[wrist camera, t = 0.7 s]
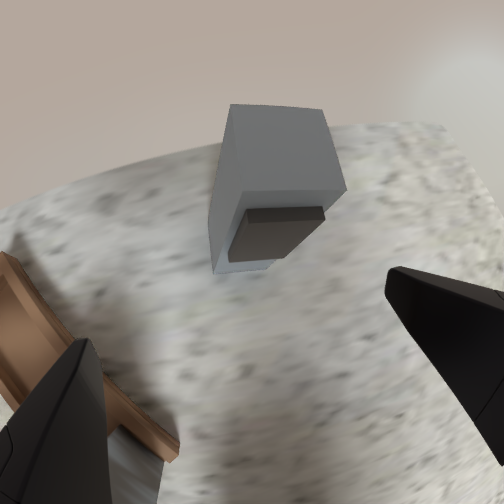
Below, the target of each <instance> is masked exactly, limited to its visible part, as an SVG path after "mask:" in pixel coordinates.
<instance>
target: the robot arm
mask: <svg viewBox="0 0 504 504" xmlns="http://www.w3.org/2000/svg"><path fill="white" fill-rule="evenodd" d="M385 297H386V299H387V300H388V302H389V303H390V305H391V306H392V308H393V309H394V311H395V312H396V314H397V316H398V317H399V319H400V320H401V322H402V323H403V325H404V326H405V328H406V330H407V331H408V332H409V334H410V335H411V336H412V338H413V339H414V340H415V342H416V343H417V344H418V346H419V347H420V348H421V350H422V351H423V352H424V354H425V355H426V356H427V358H428V359H429V360H430V362H431V363H432V364H433V366H434V367H435V368H436V370H437V371H438V372H439V374H440V375H441V377H442V378H443V379H444V381H445V382H446V383H447V385H448V386H449V388H450V389H451V390H452V392H453V393H454V395H455V396H456V398H457V399H458V400H459V402H460V403H461V405H462V406H463V408H464V409H465V411H466V412H467V414H468V415H469V417H470V418H471V420H472V421H473V422H474V425H475V426H476V428H477V429H478V431H479V432H480V434H481V435H482V437H483V438H484V440H485V442H486V443H487V445H488V446H489V448H490V450H491V451H492V453H493V454H494V456H495V458H496V459H497V461H498V463H499V464H500V465H501V466H503V465H504V292H502V291H498V290H493V289H490V288H486V287H482V286H479V285H475V284H471V283H467V282H463V281H459V280H455V279H451V278H447V277H443V276H439V275H435V274H431V273H427V272H423V271H419V270H414V269H410V268H406V267H402V266H398V267H394V268H391V269H390V270H389V271H388V273H387V279H386V285H385ZM0 504H113V503H112V494H111V485H110V473H109V459H108V439H107V414H106V405H105V396H104V386H103V375H102V366H101V362H100V359H99V357H98V355H97V353H96V351H95V349H94V347H93V344H92V342H91V341H90V339H88V338H81V339H76V340H74V341H73V342H72V343H71V344H70V346H69V347H68V348H67V349H66V350H65V351H64V352H63V354H62V355H61V356H60V357H59V358H58V359H57V361H56V362H55V363H54V364H53V365H52V367H51V368H50V369H49V370H48V371H47V373H46V374H45V375H44V376H43V378H42V379H41V380H40V381H39V382H38V384H37V385H36V386H35V387H34V389H33V390H32V391H31V392H30V394H29V395H28V396H27V397H26V399H25V400H24V401H23V403H22V404H21V405H20V406H19V408H18V409H17V410H16V412H15V413H14V414H13V416H12V417H11V418H10V419H9V421H8V422H7V425H5V426H4V427H3V429H2V430H1V432H0Z"/></svg>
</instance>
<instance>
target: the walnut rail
mask: <svg viewBox="0 0 504 504" xmlns="http://www.w3.org/2000/svg"><path fill="white" fill-rule="evenodd" d="M74 340H75V339H74V338H73V337H72V336H71V335H70V333H69V332H68V331H67V330H66V328H65V327H64V326H63V325H62V323H61V322H60V321H59V319H58V318H57V317H56V315H55V314H54V313H53V311H52V310H51V309H50V307H49V306H48V305H47V303H46V302H45V301H44V299H43V298H42V296H41V295H40V294H39V292H38V291H37V289H36V288H35V286H34V285H33V283H32V282H31V280H30V279H29V277H28V276H27V274H26V273H25V271H24V270H23V268H22V266H21V265H20V263H19V262H18V260H17V259H16V258H14V257H12V256H10V255H8V254H6V253H4V252H3V251H1V252H0V394H1V395H2V397H3V398H4V399H5V401H6V402H7V403H8V405H9V406H10V407H11V409H12V410H13V411H14V413H15V412H16V410H17V409H18V408H19V406H20V405H21V404H22V403H23V401H24V400H25V399H26V397H27V396H28V395H29V394H30V392H31V391H32V390H33V389H34V387H35V386H36V385H37V384H38V382H39V381H40V380H41V379H42V378H43V376H44V375H45V374H46V373H47V371H48V370H49V369H50V368H51V367H52V365H53V364H54V363H55V362H56V361H57V359H58V358H59V357H60V356H61V355H62V354H63V352H64V351H65V350H66V349H67V348H68V347H69V346H70V344H71V343H72V342H73V341H74ZM102 375H103V386H104V396H105V405H106V414H107V439H108V459H109V473H110V485H111V494H112V503H113V504H156V503H157V498H158V492H159V487H160V481H161V476H162V471H163V466H164V462H165V461H167V462H169V463H171V462H172V461H173V460H174V459H175V458H176V457H177V456H178V455H179V448H180V443H179V442H178V441H177V440H176V439H174V438H173V437H172V436H171V435H169V434H168V433H167V432H166V431H165V430H164V429H162V428H161V427H160V426H159V425H158V424H157V423H155V422H154V421H153V420H152V419H151V418H150V417H149V416H148V415H146V414H145V413H144V412H143V411H142V410H141V409H140V408H139V407H138V406H137V405H136V404H135V403H133V402H132V401H131V400H130V399H129V398H128V397H127V396H126V395H125V394H124V393H123V392H122V391H121V390H120V389H119V388H118V387H117V386H116V385H115V384H114V383H113V382H112V381H111V380H110V379H109V378H108V377H107V376H106V374H105V373H104V372H103V371H102Z"/></svg>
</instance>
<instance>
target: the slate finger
mask: <svg viewBox="0 0 504 504" xmlns="http://www.w3.org/2000/svg"><path fill="white" fill-rule="evenodd" d="M346 191H347V188H346V185H345V181H344V178H343V174H342V171H341V167H340V164H339V160H338V157H337V154H336V150H335V147H334V144H333V141H332V138H331V135H330V132H329V129H328V126H327V123H326V120H325V117H324V114H323V111H322V110H320V109H309V108H298V107H284V106H268V105H239V104H231V105H230V109H229V114H228V118H227V123H226V128H225V133H224V138H223V143H222V148H221V153H220V158H219V164H218V169H217V174H216V180H215V185H214V191H213V196H212V202H211V208H210V214H209V220H208V228H209V238H210V248H211V258H212V267H213V274H219V273H230V272H241V271H252V270H263V269H267V268H268V267H269V266H270V265H271V264H272V263H273V262H274V261H275V260H276V259H281V258H284V257H286V256H287V255H288V254H289V253H290V252H291V251H292V250H293V249H294V248H295V247H296V246H298V245H299V244H300V243H301V242H302V241H303V240H304V239H305V238H306V237H307V236H308V235H310V234H311V233H312V232H313V231H314V230H315V229H316V228H317V227H318V226H319V225H320V224H321V223H323V222H324V221H325V215H324V212H325V211H326V210H327V209H328V208H330V207H331V206H332V205H333V204H334V203H335V202H336V201H337V200H338V199H339V198H340V197H341V196H342V195H343V194H344V193H345V192H346Z"/></svg>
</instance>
